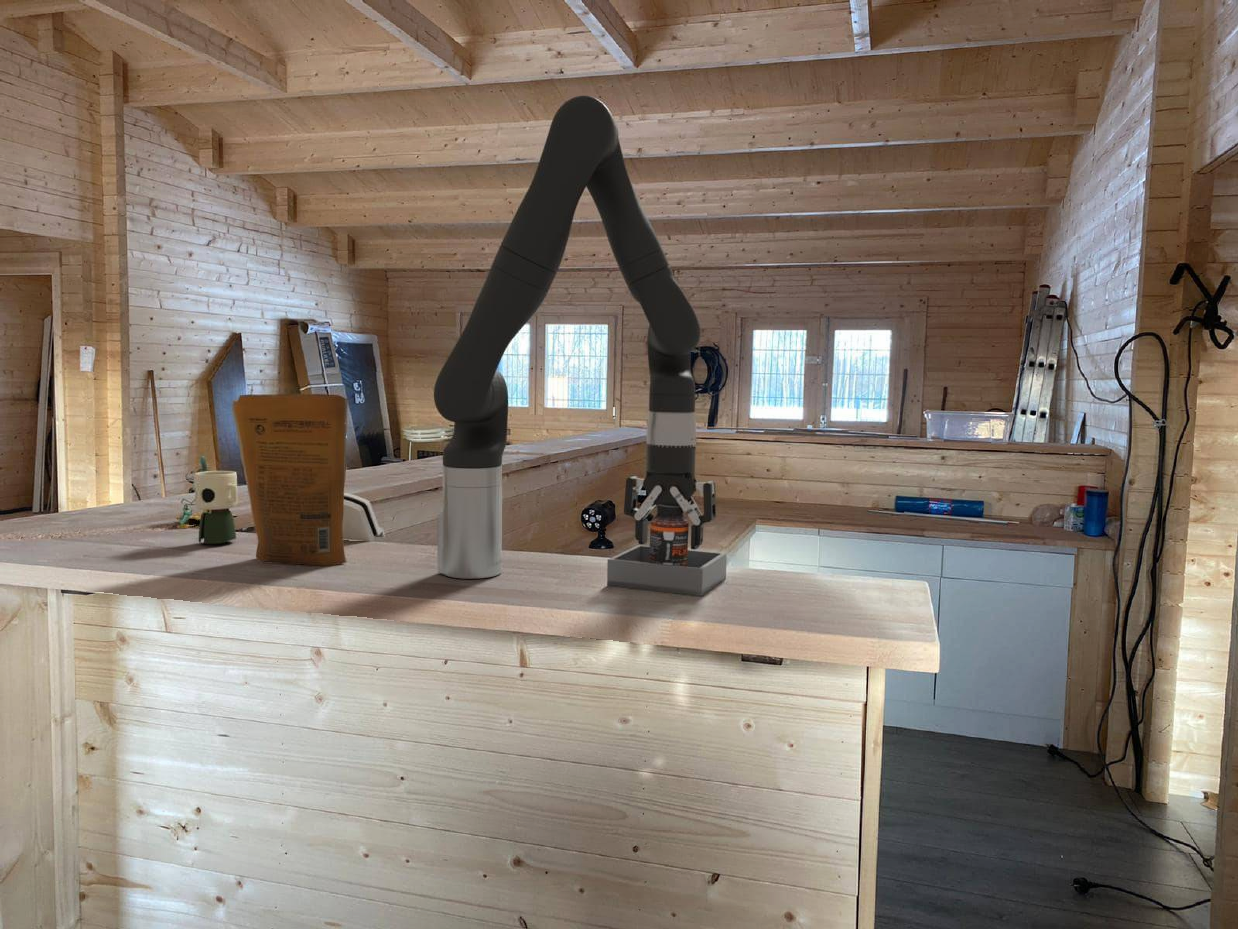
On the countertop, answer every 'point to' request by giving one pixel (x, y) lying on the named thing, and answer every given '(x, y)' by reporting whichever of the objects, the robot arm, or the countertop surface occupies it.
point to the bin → (667, 572)
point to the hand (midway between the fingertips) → (668, 546)
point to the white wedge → (359, 519)
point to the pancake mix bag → (295, 474)
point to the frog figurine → (187, 513)
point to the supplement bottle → (669, 536)
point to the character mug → (216, 505)
